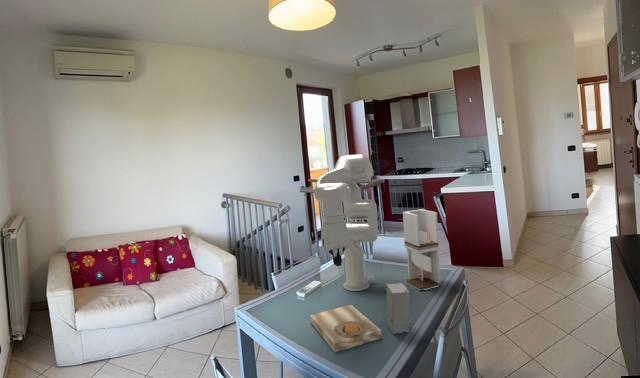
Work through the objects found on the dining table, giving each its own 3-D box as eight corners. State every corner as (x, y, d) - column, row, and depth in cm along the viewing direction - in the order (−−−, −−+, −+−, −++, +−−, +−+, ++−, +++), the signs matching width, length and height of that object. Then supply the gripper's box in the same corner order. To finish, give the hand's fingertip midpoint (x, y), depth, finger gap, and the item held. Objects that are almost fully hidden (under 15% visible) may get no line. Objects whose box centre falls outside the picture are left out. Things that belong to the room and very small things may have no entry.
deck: (351, 311, 150) (351, 304, 150) (381, 338, 128) (381, 330, 128) (310, 322, 144) (310, 315, 144) (335, 352, 122) (334, 343, 121)
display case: (406, 283, 175) (402, 212, 171) (425, 279, 178) (422, 209, 174) (420, 291, 164) (416, 215, 160) (440, 287, 168) (436, 212, 164)
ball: (359, 338, 131) (352, 325, 134) (363, 332, 127) (356, 319, 130) (347, 343, 129) (341, 329, 132) (350, 338, 125) (344, 324, 128)
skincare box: (386, 323, 138) (383, 283, 136) (404, 321, 138) (402, 281, 137) (392, 335, 130) (390, 292, 128) (412, 332, 130) (409, 290, 128)
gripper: (346, 213, 144) (350, 258, 147) (311, 220, 138) (316, 266, 141) (355, 217, 137) (359, 263, 140) (319, 224, 131) (323, 272, 134)
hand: (337, 265), depth 140 cm, fingers closed
